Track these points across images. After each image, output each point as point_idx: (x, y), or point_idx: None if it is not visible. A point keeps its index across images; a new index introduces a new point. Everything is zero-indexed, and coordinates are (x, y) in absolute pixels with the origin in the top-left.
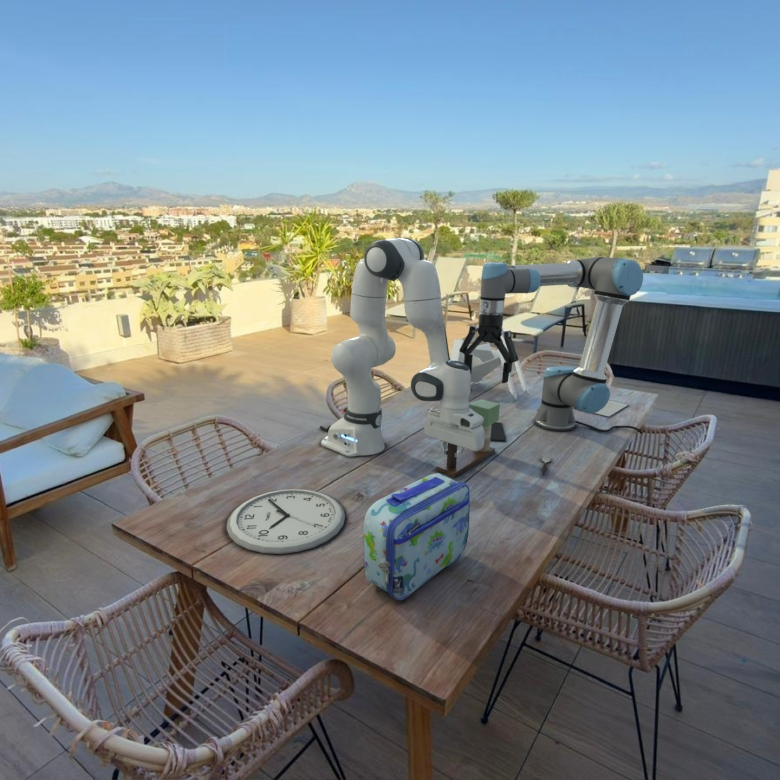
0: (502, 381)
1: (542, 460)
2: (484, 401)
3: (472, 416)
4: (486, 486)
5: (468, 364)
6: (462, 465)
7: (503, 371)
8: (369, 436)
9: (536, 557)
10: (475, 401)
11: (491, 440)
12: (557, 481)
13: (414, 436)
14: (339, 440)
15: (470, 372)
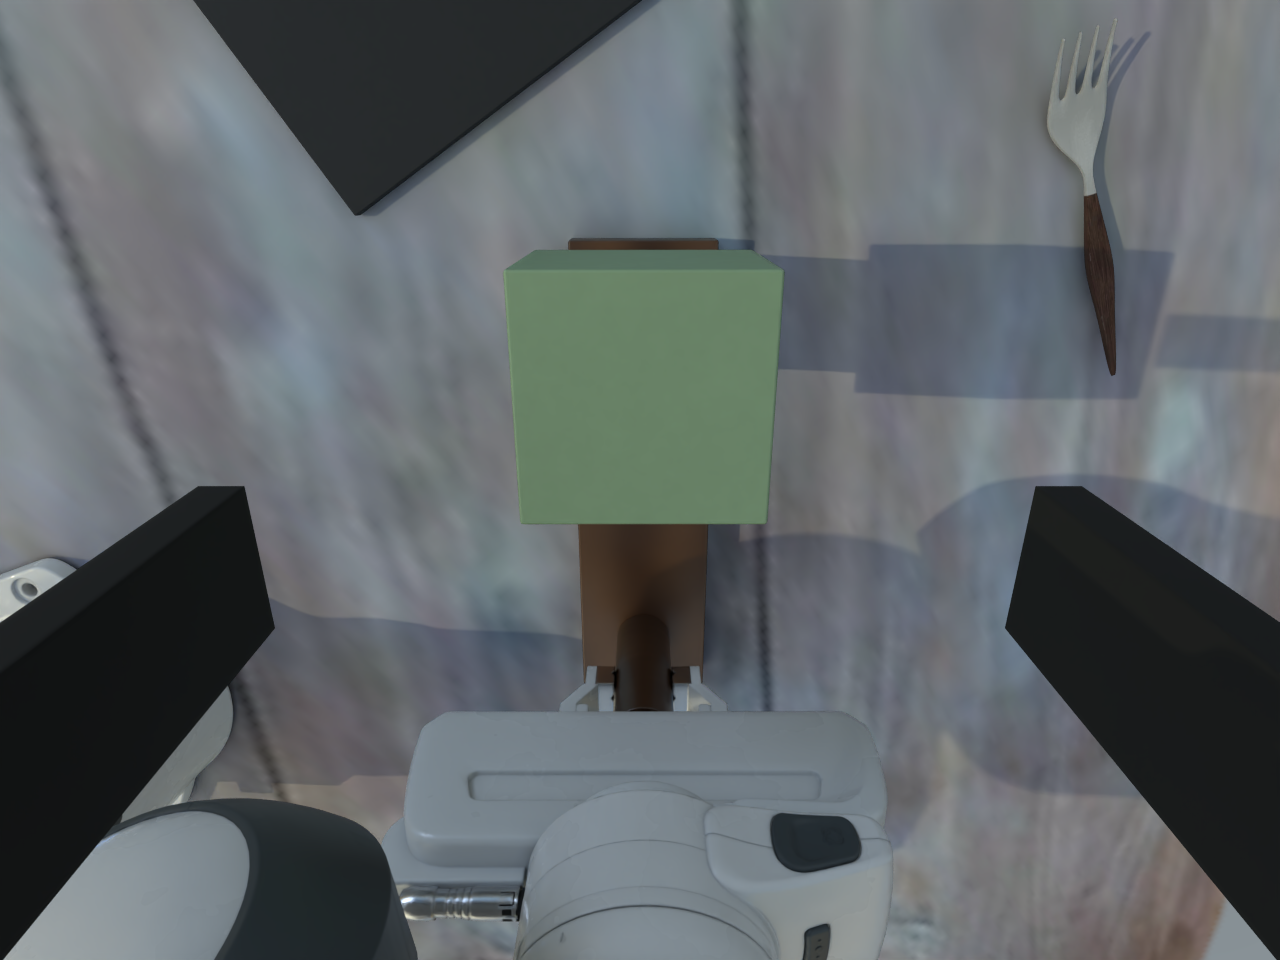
0: (1027, 643)
1: (1055, 143)
2: (592, 324)
3: (833, 947)
4: (870, 647)
5: (140, 754)
6: (685, 594)
7: (1154, 790)
8: (148, 808)
9: (1202, 917)
10: (513, 396)
11: (587, 41)
12: (1194, 364)
13: (150, 380)
14: None
15: (235, 536)
